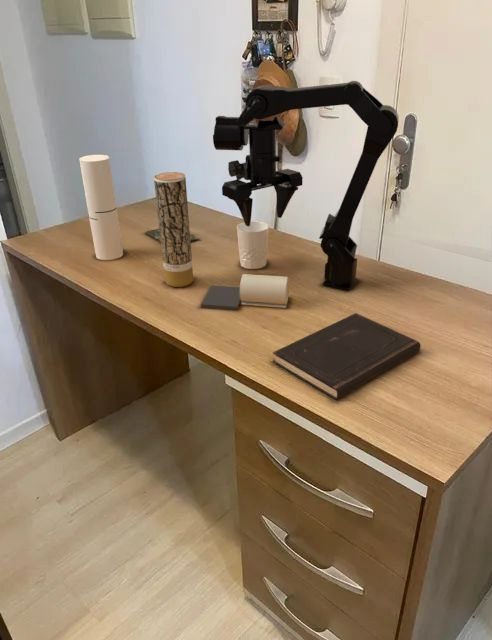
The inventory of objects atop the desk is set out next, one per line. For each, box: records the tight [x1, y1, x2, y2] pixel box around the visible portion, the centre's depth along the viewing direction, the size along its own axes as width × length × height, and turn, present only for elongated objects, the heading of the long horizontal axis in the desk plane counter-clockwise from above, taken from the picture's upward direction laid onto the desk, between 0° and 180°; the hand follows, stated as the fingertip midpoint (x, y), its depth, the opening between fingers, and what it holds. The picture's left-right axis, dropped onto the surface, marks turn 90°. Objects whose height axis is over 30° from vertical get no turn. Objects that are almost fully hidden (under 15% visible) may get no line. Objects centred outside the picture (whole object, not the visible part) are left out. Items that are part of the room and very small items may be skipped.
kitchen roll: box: [239, 273, 290, 309], centre depth 122 cm, size 10×6×6 cm, turn 80°
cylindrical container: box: [78, 154, 124, 261], centre depth 142 cm, size 7×7×25 cm
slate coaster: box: [200, 285, 242, 311], centre depth 125 cm, size 8×10×1 cm
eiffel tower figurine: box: [144, 228, 198, 242], centre depth 156 cm, size 15×10×13 cm
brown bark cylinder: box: [153, 171, 194, 288], centre depth 127 cm, size 7×7×25 cm
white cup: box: [236, 220, 270, 270], centre depth 139 cm, size 8×8×10 cm
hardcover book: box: [272, 313, 422, 400], centre depth 103 cm, size 16×23×2 cm
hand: (263, 221), depth 128 cm, fingers open, 9 cm apart
